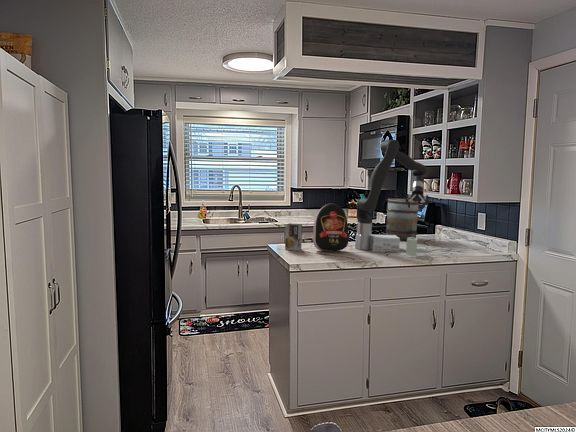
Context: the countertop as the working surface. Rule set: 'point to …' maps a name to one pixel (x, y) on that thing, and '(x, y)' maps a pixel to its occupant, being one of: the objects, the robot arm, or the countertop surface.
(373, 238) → the supplement box
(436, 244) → the countertop surface
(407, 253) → the grey rectangular block
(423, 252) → the mat
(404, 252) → the butter plate
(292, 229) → the coffee box
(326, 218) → the packaged food
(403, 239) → the barrel
